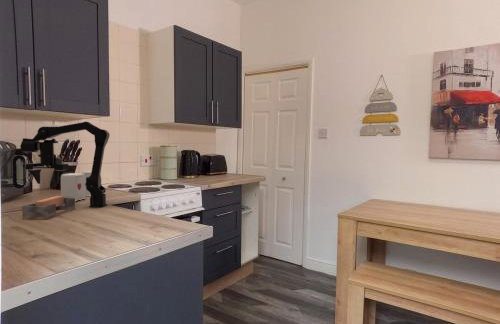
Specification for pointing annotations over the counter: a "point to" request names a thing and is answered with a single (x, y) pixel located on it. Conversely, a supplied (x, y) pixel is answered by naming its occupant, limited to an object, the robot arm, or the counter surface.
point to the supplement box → (73, 185)
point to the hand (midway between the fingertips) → (48, 183)
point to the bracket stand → (47, 210)
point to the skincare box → (87, 174)
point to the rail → (51, 201)
